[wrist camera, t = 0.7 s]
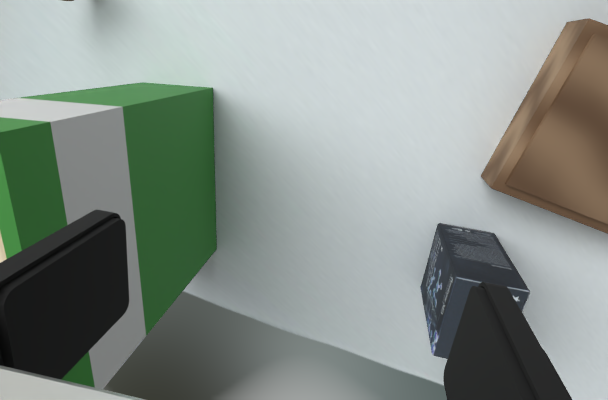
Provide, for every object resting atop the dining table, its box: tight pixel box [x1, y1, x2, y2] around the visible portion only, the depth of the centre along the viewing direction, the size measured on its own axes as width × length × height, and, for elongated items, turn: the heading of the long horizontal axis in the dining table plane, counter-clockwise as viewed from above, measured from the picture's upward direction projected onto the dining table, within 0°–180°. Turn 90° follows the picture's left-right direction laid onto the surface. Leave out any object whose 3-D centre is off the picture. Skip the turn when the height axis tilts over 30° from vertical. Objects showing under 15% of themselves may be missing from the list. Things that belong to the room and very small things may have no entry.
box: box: [421, 223, 530, 359], centre depth 36 cm, size 8×6×11 cm
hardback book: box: [0, 83, 217, 389], centre depth 31 cm, size 18×7×24 cm, turn 176°
